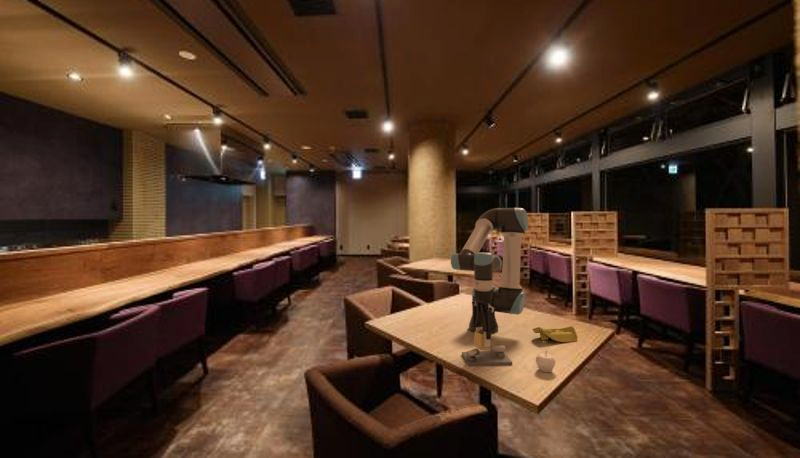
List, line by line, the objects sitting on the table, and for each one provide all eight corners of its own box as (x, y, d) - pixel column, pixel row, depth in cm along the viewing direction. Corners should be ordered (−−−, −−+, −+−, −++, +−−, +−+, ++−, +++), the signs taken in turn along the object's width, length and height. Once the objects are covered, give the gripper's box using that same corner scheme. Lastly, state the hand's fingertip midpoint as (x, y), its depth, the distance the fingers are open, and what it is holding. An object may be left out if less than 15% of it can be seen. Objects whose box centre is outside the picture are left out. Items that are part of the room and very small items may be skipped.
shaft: (473, 356, 153) (473, 347, 153) (480, 359, 150) (480, 349, 150) (465, 359, 150) (465, 350, 150) (472, 362, 147) (472, 352, 147)
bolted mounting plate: (502, 353, 159) (502, 341, 159) (512, 364, 147) (512, 351, 147) (461, 354, 158) (461, 342, 158) (468, 366, 146) (468, 353, 146)
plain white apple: (558, 374, 139) (559, 353, 138) (540, 374, 138) (541, 354, 138) (549, 366, 146) (550, 346, 145) (532, 367, 145) (532, 347, 145)
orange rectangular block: (483, 344, 156) (483, 328, 156) (490, 348, 152) (490, 331, 152) (474, 346, 155) (474, 329, 154) (481, 349, 150) (481, 333, 150)
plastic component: (560, 328, 186) (575, 325, 178) (564, 343, 183) (579, 341, 175) (528, 329, 180) (541, 326, 171) (531, 345, 177) (545, 342, 168)
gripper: (464, 286, 159) (463, 339, 160) (488, 294, 143) (488, 352, 144) (478, 285, 162) (478, 336, 163) (504, 292, 146) (504, 350, 147)
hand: (483, 344), depth 153 cm, fingers closed on orange rectangular block, 5 cm apart
